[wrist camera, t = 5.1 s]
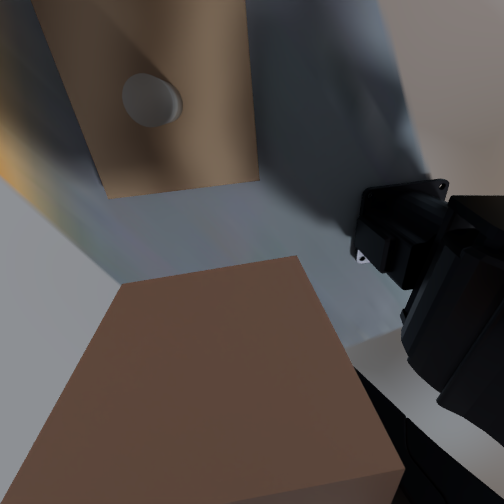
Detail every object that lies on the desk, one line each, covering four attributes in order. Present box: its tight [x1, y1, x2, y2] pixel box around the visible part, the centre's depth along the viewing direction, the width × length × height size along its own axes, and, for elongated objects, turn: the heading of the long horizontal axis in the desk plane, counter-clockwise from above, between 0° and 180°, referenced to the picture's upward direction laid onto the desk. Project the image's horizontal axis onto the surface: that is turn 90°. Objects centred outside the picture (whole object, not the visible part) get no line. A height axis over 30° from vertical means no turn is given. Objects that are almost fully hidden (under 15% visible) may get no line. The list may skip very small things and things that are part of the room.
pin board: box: [31, 0, 260, 199], centre depth 13 cm, size 10×10×5 cm
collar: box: [1, 255, 405, 504], centre depth 8 cm, size 6×6×6 cm
